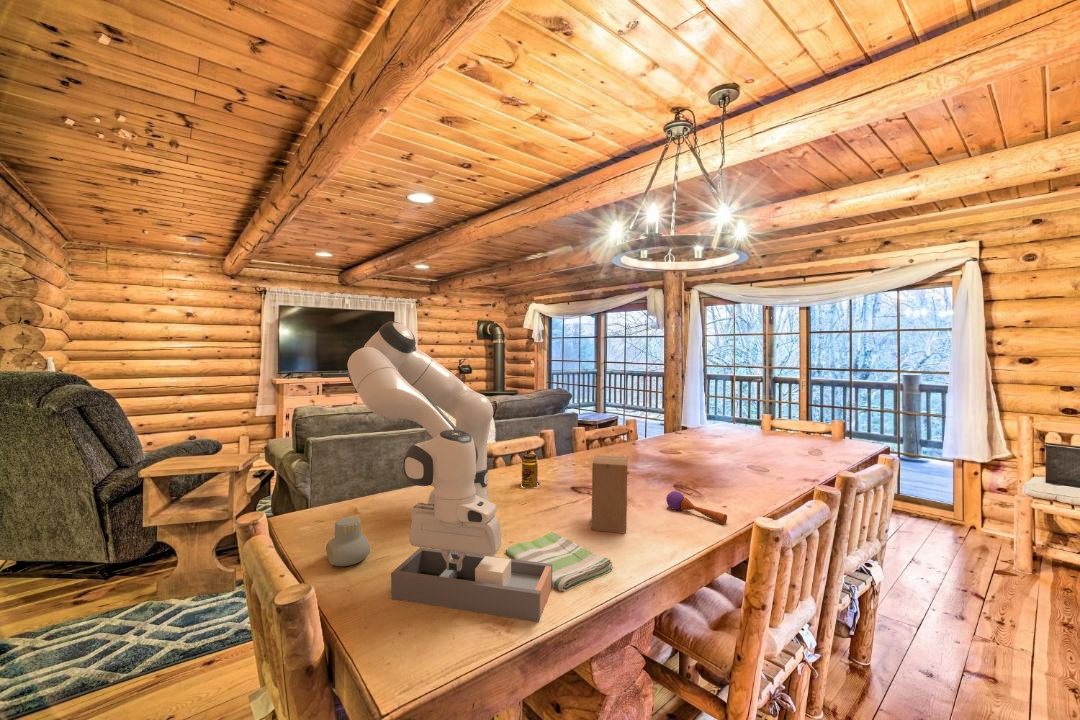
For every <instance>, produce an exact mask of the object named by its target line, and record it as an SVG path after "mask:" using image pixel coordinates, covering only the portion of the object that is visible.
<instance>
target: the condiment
mask: <svg viewBox="0 0 1080 720" xmlns="http://www.w3.org/2000/svg"><path fill="white" fill-rule="evenodd" d="M537 457H538V456H537V454H535V453H524V454H523V456H522V463H521V482H522V486H523V487H525V488H524V489H535V488H534V487H537V483H538V485H539V486H540V483H541V482H540V481H538V479H539V478H538V473H539V472H538V470H539V469H538V468H539V466H538V463H539V462H538V459H537Z"/></svg>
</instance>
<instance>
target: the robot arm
mask: <svg viewBox="0 0 1080 720" xmlns="http://www.w3.org/2000/svg"><path fill="white" fill-rule="evenodd" d="M347 369H348V370H347V375H348V376H347V377H348V380H349V382H350V384H352V385H353V386H354V389H355V391H356V392H357V394H358V396H359V398H360V399H361V401H362V403H363V404H364V405H365V406H366V407H367V408H368V409H369V411H371V412H372V413H374V414H375V415H379V416H382V417H388V418H395V419H396V418H397V419H404V420H409V421H412V422H414V423H417V424H418V425H420V426H422V427H423V429H424V430H425V431H426V432H427V433H428V434H429V435H430V436H431V439H428V440H426V441H421V442H418V443H416V444H412V445H410V446H409V447H408V449H407V450H406V452H405V454H404V457H403V461H402V463H403V465H402V467H403V472H404V473H403V474H404V476H405V478H406V479H407V480H408V481H409V482H410V483H411V484H413V485H415V486H418V487H429V486H431V487H433V489H432V490H431V492H430V493H429V496H428V501H427V502H426V503H425V502H418V503H416V504H414V505H413V506H412V508H411V510H410V517H411V524H410V528H409V529H410V531H409V542H410V544H411V546H412V547H418V548H420V547H421V548H429V549H437V550H442V556H443V558H444V559H445V561H446V562H447V570H453V571H460V570H461V569H462V561H463V559H464V558H465V556H466V554H467V553H468V554H476V555H484V556H491V557H495V555H496V554H497V553H499V551H500V550H501V546H502V534H501V527H500V526H501V525H500V521H499V519H498V517H497V516H496V514H497V512H498V507H497V504H496V503H493V502H492V501H490V497H489V490H488V484H489V467H488V465H487V464H488V440H489V434H490V430H491V429H490V428H491V421H492V419H493V416H494V408H493V405H492V402H491V400H490V399H489V398H488V397H487V396H486V395H485V394H482V393H480V392H477V391H475V390H473V389H472V388H470V387H469V386H468V385H467V384H466V383H464V381H462V380H461V379H460V378H458V376H456V375H455V374H454V373H452V372H451V371H450V370H449V369H448V368H446V367H445V366H443V365H442V364H441V363H439V362H438V361H437V360H435V359H434V358H433V357H431V356H430V355H429V354H428V353H425V352H424V351H422V350H420V349H419V348H417V347H416V338H415V335H414V334H413V332H412V331H411V330H410V329H409V328H408V327H407V326H406V325H404V324H402V323H401V322H397V321H387V322H385V323H384V324H382V325H381V327H379V329H378V331H377V332H375V333H374V334H373V335H372V336H371V337H370V339H368V341H367V342H366V343H365V344H364V345H363V347H361V348H359V349H357V350H355V351H354V352H353V353H352V354H351V355H350V356H349V358H348V361H347ZM443 411H444V412H445V413H447V414H448V415H449V416H450V417H451V418H453V419H454V420H455V425H454V424H453V422H452V421H451V420H450V419H449V417H447V416H446V414H444V412H443ZM451 551H453V552H458V556H459V557H460V558H459V560H455V559H453V558H452V556H451V554H450V552H451Z"/></svg>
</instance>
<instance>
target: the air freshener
mask: <svg viewBox="0 0 1080 720" xmlns="http://www.w3.org/2000/svg"><path fill="white" fill-rule="evenodd" d="M361 527H362V521H361V519H360V518H359V517H357V516H347V517H343V518H339V519H338V520H336V521H335V523H334V537H333V538H331V539H330V540H329V541H328V542H327V543H326V548H325V553H326V556H327V557H326V558H327V559H328V562H329V564H330V565H334V566H336V567H349V566H353V565H355V564H358V563H359V562H361V561H363V560H364V559H365V558H367V557H368V555H369V554H370V551H371V550H370V548H371V547H370V543H369V539H368V537H366V535H365V534H362V529H361Z"/></svg>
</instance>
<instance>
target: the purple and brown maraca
mask: <svg viewBox="0 0 1080 720" xmlns="http://www.w3.org/2000/svg"><path fill="white" fill-rule="evenodd" d="M666 495H667V496H666V498H665V499H666V504H667V506H668V507H669V508H670V509H672V510H675V511H679V510H681V511H691V510H693V511H696V512H698V513H700V514H701V515H703V516H706V517H707V518H709V519H711V520H712V521H715V522H716V523H718V524H720V525H722V526H723V525H725V524H726V523H727V520H728V514H725V513H722V512H718V511H715V510H714V511H713V510H710V509H706V508H703V507H699V506H695V505H694V504H693V503H692V502H691V501H690V500H689V499H688V497H685V496H684V494H683V493H681V492H680V491H677V490H675V491H674V490H673V491H670V492H669V493H668V494H666Z"/></svg>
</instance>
